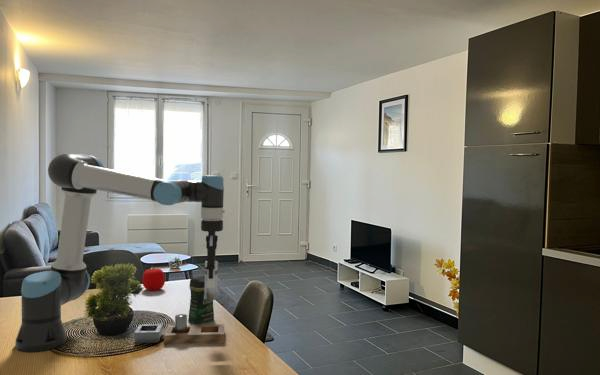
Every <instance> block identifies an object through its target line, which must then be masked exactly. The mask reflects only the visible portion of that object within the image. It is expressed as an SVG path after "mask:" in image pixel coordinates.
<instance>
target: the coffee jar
mask: <svg viewBox="0 0 600 375" xmlns="http://www.w3.org/2000/svg"><path fill="white" fill-rule="evenodd" d="M189 290H190V300H189V301H190V303H189V309H188V310H189V311H188V317H187V323H189V324H191V325H206V324H208V323H211V322H213V321H215V312H214V300H205V299H204V295H205V274H204V275H199V276H194V277H191V278H190V280H189Z"/></svg>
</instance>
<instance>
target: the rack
mask: <svg viewBox="0 0 600 375" xmlns="http://www.w3.org/2000/svg"><path fill="white" fill-rule="evenodd" d="M224 343H225V323H224V324H223V323H221V324H216V323H215V324H200V325H196V324H187V333H175V324H173V325H171V324H169V325H167V327H166V329H165V332H164V335H163V345H186V344H187V345H189V344H195V345H196V344H224Z"/></svg>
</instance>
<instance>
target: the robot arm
mask: <svg viewBox="0 0 600 375" xmlns="http://www.w3.org/2000/svg"><path fill="white" fill-rule="evenodd" d="M47 167H48V168H47V174H48V177H49V179H50V180H51V182H52V183H53V184H54V185H55V186H58V187H60V188H61V191H62V193H63V194H64V203H63V210H62V217H61V225H60V233H59V239H58V245H57V246H58V248H57V254H56V260H54V261H53V262H52V263H51V265H50V270H44V271H40V272H35V273H32V274H29V275H28V276H26V277H24V278H23V281H22V283H21V289H20V294H21V324H20V327H19V329H18V333H17V335H16V338H15V349H16V350H17V351H21V352H26V353H27V352H28V353H36V352H43V351H48V350H53V349H57V348H59V347H61V346H62V345H64V344H65V343H66V342H67V331H66V329H65V327H64V324H63V320H62V306H63V305H65V304H67V303H69V302H71V301H75V300H77V299H79V298H80V297H81V296H83V295H84V294H85V293H86V292H87V291H88V289H89V288H90V285H91V278H90V273H88V270H87V264H86V263H85V262H84V260H83V259H84V253H85V246H86V238H87V231H88V223H89V216H90V209H91V201H92V197H94V196H96V195H97V191H100V192H106V193H111V194H116V195H121V196H126V197H132V198H137V199H143V200H147V201H152V202H156V203H158V204H160V205H162V206H174V205H175V204H181V203H186V202H189V203H190V202H193V203H194V202H195V203H201V205H200V206H201V208H200V218H201V219H202V220H200V221H201V222H200V230H201V231H202V232H207V233H208V234H207V235H205V242H206V243H205V244H206V247H205V248H206V249H207V250H206V251H207V253H206V254H207V255H206V256H207V257H206V261H207V267H205V266H204V270H205V269H207V288H215V261H217V260H216V250H217V247H218V239H219V237H218V235H216V232H217V233H219V232H222V231H223V230H224V220H223V218H224V213H226V210H225V209H224V196H225V195H224V194H225V193H224V192H225V188H224V187H225V184H224V177H223V176H222V175H215V174H213V175H212V174H210V175H209V174H204V175H202V177H201V180H192V179H191V180H189V179H188V180H187V179H171V180H167V179H163V178H157V177H151V176H147V175H142V174H136V173H133V172H131V173H130V172H128V171H127V172H126V171H120V170H116V169H111V168H105V167H104V164H103V163H102V161H101V160H100V159H99V158H97V157H95V156H94V155H90V154H85V153H79V154H78V153H62V154H59V155H57V156H55V157H54V158H52V160H51V161H50V162H49V164H48V166H47ZM60 345H61V346H60ZM58 346H59V347H58Z"/></svg>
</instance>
